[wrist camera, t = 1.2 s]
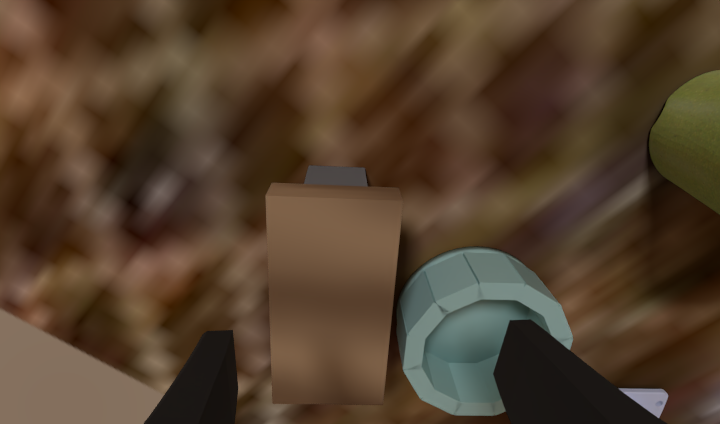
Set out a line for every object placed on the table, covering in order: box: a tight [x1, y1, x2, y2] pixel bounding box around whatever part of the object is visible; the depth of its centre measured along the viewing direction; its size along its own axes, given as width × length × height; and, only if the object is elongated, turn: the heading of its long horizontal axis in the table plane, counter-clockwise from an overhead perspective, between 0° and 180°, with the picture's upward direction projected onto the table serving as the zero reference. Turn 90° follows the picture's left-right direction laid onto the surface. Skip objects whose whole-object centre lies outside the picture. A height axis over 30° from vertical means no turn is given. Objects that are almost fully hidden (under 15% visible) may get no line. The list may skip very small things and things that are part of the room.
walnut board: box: [266, 183, 403, 405], centre depth 20 cm, size 11×6×2 cm, turn 177°
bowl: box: [396, 246, 573, 416], centre depth 25 cm, size 9×9×4 cm
